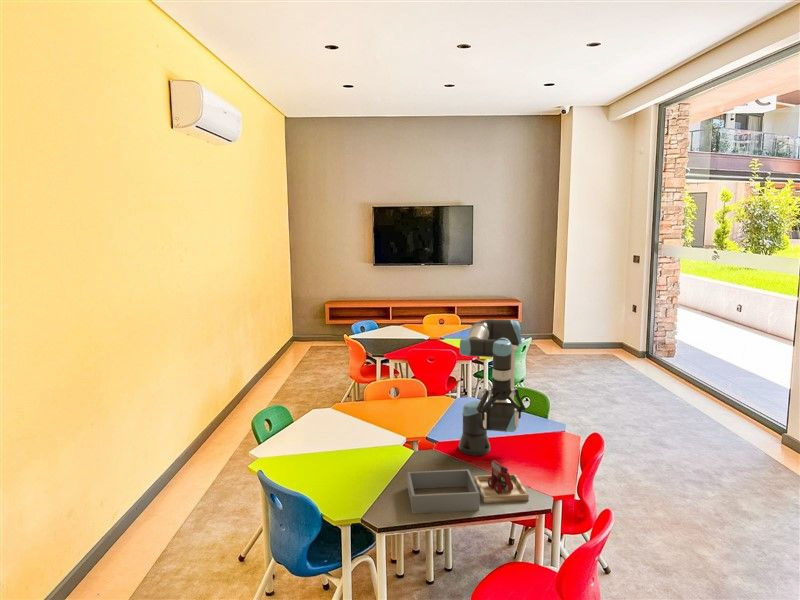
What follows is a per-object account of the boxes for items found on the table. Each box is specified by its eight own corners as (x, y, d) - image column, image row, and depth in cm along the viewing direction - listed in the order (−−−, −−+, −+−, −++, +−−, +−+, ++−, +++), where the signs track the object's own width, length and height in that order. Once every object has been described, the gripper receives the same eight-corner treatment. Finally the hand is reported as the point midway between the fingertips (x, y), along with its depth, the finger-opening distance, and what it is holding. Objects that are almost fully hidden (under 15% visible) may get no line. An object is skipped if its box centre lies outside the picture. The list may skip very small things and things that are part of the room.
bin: (407, 487, 230) (407, 472, 229) (468, 484, 232) (469, 469, 231) (412, 513, 210) (412, 496, 209) (479, 510, 212) (479, 493, 211)
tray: (474, 481, 235) (474, 475, 235) (515, 479, 237) (515, 473, 236) (484, 502, 218) (484, 497, 217) (528, 500, 219) (528, 494, 219)
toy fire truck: (502, 497, 220) (502, 473, 218) (485, 484, 231) (485, 460, 230) (516, 494, 223) (517, 469, 221) (499, 480, 234) (499, 457, 232)
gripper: (473, 382, 222) (473, 431, 226) (534, 379, 224) (532, 428, 228) (469, 376, 229) (469, 424, 234) (528, 373, 231) (526, 421, 236)
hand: (500, 426), depth 231 cm, fingers open, 13 cm apart
